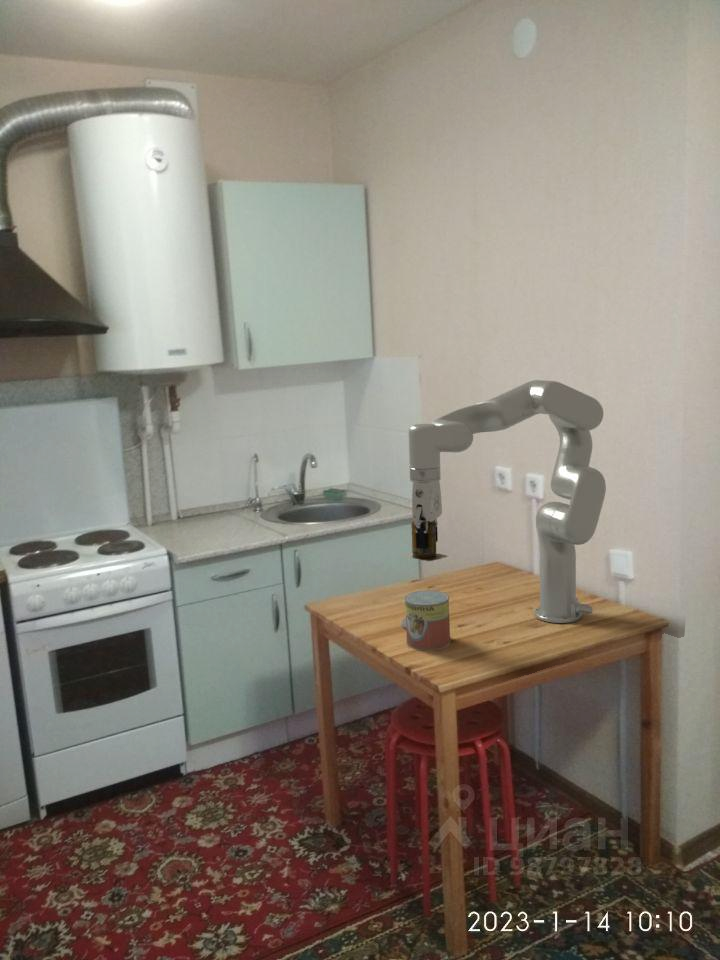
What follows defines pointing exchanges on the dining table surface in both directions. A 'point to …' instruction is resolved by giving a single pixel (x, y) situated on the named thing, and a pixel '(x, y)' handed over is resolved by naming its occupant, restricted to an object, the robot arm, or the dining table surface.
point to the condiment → (431, 551)
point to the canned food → (427, 620)
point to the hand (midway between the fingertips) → (427, 544)
